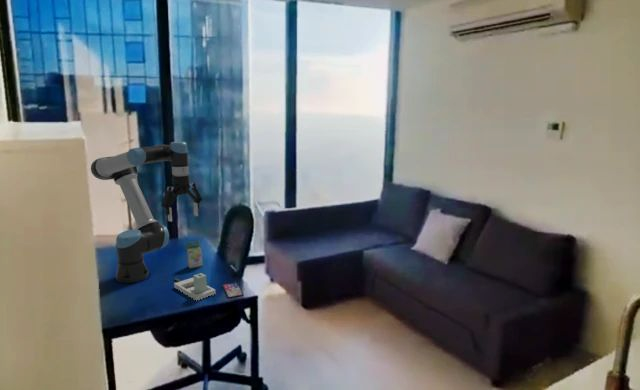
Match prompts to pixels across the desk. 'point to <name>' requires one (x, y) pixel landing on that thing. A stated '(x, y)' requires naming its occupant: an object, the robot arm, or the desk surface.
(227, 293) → the smartphone
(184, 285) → the white compartment tray
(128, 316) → the desk surface
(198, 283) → the block
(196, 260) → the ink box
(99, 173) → the robot arm
